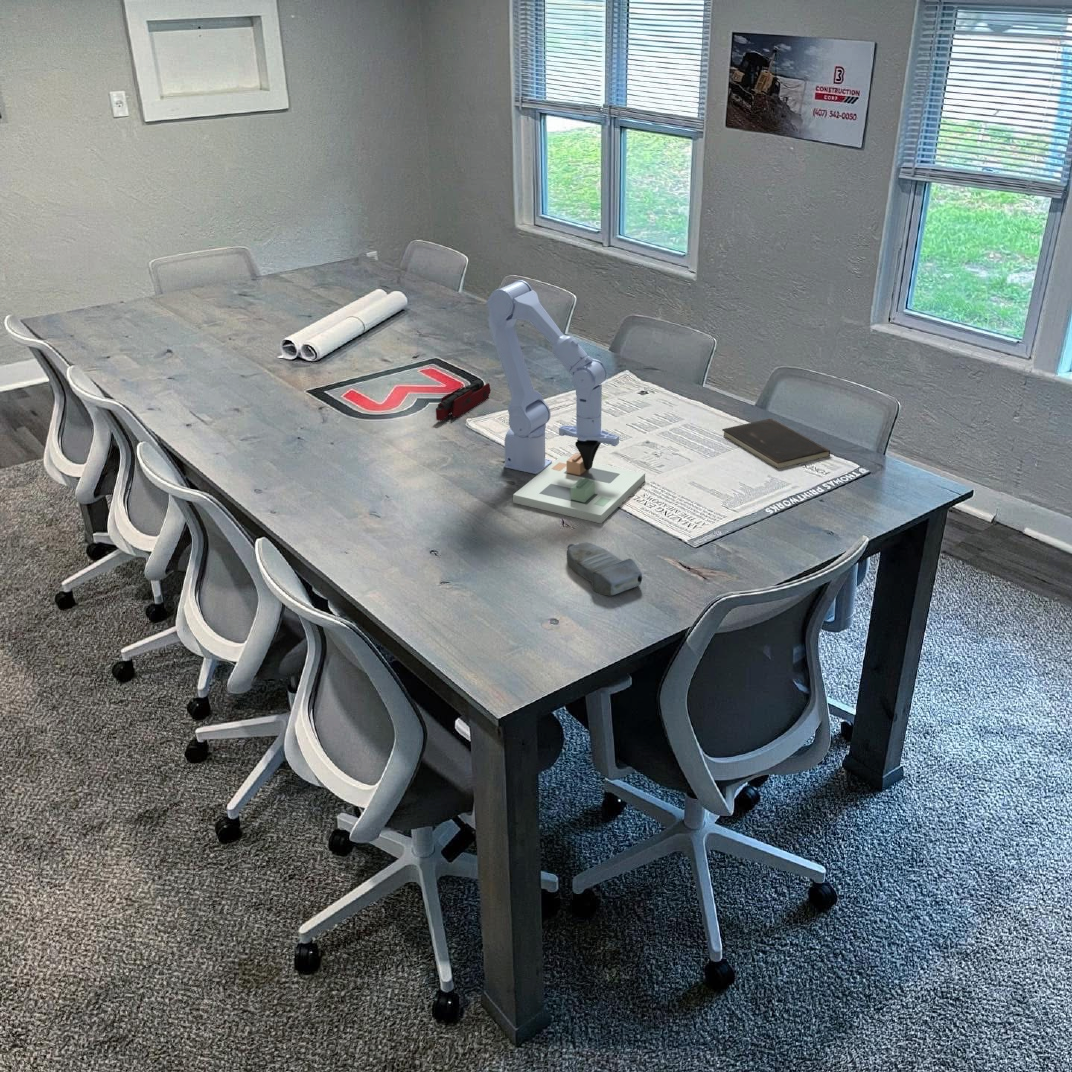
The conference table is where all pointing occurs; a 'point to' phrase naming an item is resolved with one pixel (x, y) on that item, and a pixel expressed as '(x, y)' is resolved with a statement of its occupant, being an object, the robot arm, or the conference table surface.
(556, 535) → the conference table surface
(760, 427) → the hardcover book
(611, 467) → the switch board
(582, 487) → the tab green
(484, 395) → the mechanical component
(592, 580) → the handheld device
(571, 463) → the tab terracotta
